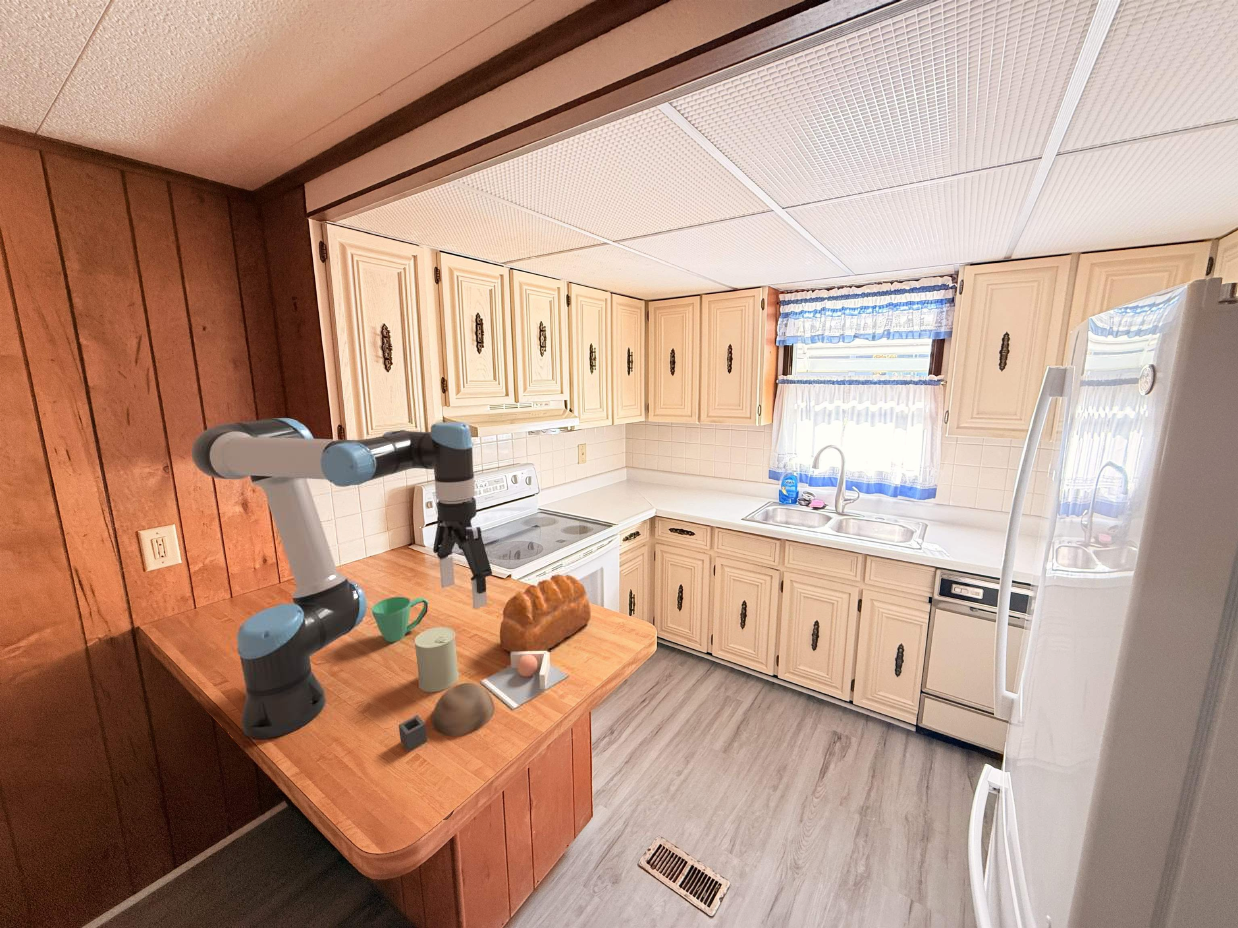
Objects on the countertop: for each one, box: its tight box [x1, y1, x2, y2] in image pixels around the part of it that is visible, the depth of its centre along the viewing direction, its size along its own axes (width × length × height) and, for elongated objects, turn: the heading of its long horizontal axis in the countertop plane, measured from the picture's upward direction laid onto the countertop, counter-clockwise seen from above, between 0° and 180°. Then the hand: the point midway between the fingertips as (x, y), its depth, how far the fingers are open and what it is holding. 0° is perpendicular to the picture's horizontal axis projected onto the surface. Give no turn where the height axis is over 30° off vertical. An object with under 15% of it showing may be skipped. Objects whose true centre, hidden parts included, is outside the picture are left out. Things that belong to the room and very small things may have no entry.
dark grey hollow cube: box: [398, 714, 428, 753], centre depth 97 cm, size 4×4×4 cm
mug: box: [371, 596, 429, 643], centre depth 136 cm, size 15×10×10 cm
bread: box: [499, 573, 592, 653], centre depth 135 cm, size 14×26×16 cm, turn 143°
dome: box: [432, 682, 495, 737], centre depth 105 cm, size 13×13×13 cm
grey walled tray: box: [479, 650, 569, 711], centre depth 116 cm, size 16×14×4 cm
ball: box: [517, 655, 538, 677], centre depth 117 cm, size 5×5×5 cm
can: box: [413, 626, 460, 693], centre depth 116 cm, size 9×9×12 cm
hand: (463, 595), depth 102 cm, fingers open, 13 cm apart
